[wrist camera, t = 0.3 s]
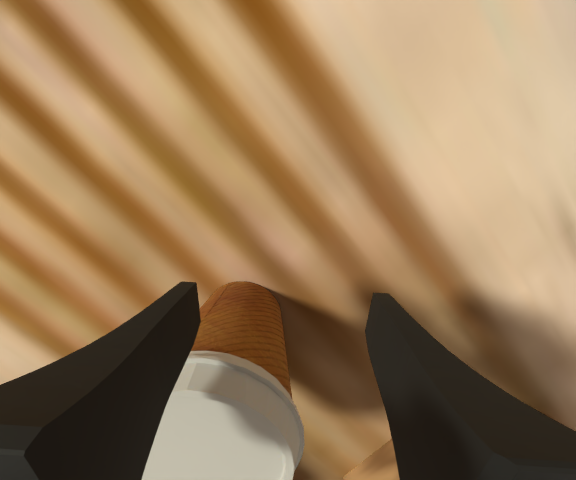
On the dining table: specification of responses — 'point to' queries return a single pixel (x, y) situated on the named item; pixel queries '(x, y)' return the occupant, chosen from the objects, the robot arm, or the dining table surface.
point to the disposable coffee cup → (231, 397)
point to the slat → (377, 466)
